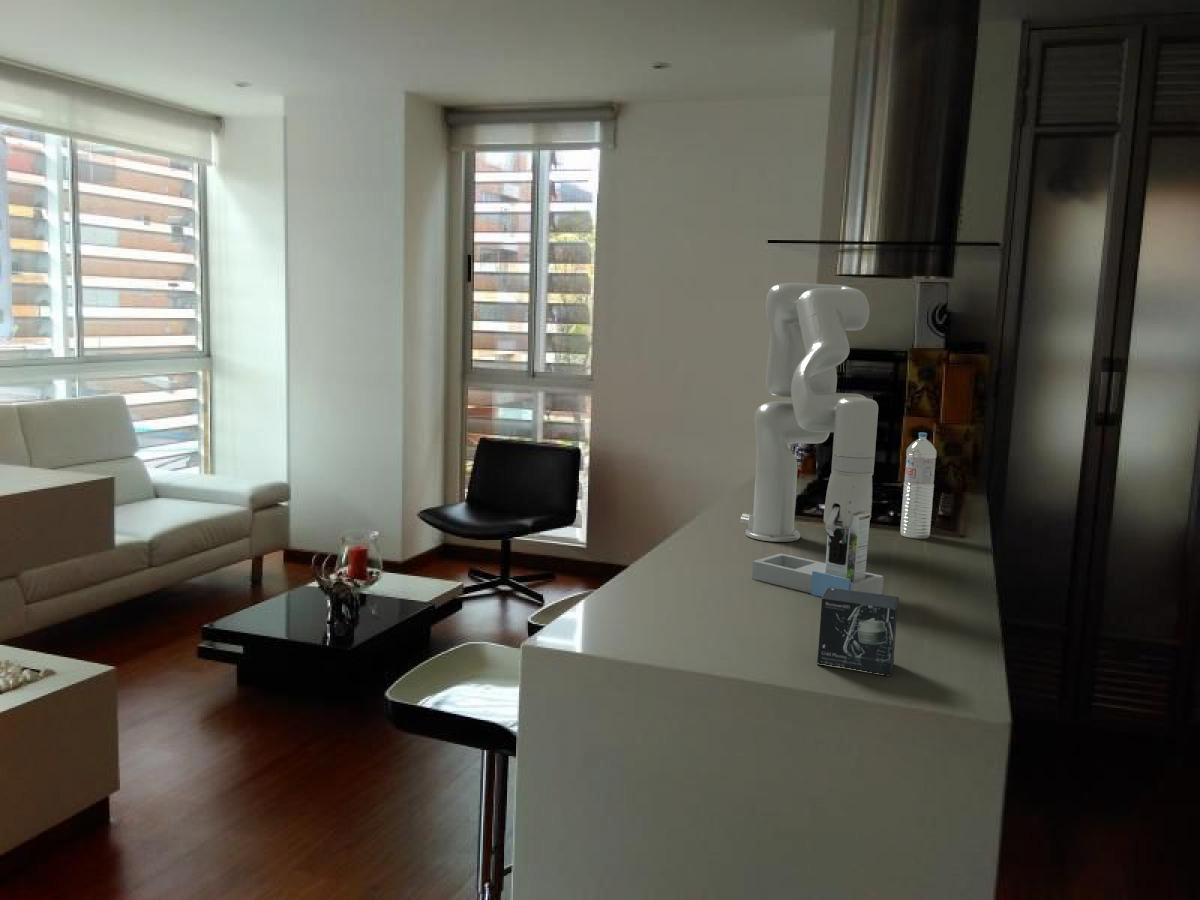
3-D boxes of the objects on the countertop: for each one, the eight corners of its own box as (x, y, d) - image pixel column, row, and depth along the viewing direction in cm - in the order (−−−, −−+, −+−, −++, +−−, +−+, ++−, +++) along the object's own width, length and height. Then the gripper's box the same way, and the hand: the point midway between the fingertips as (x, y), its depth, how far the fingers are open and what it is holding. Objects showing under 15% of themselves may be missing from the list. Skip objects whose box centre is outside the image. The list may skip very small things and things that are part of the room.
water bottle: (931, 540, 226) (940, 435, 223) (901, 538, 227) (909, 433, 224) (927, 534, 233) (936, 432, 229) (898, 532, 234) (906, 430, 231)
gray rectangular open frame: (750, 579, 187) (751, 557, 186) (779, 570, 194) (780, 548, 194) (854, 605, 172) (856, 581, 171) (882, 594, 179) (883, 571, 179)
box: (815, 666, 141) (820, 597, 139) (822, 652, 147) (826, 586, 145) (891, 678, 137) (896, 607, 135) (894, 663, 143) (899, 595, 141)
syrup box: (822, 585, 179) (827, 509, 177) (838, 579, 183) (843, 505, 181) (850, 592, 175) (856, 514, 173) (865, 586, 179) (871, 510, 177)
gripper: (856, 458, 185) (850, 549, 187) (810, 466, 172) (803, 564, 175) (893, 463, 180) (886, 557, 182) (848, 472, 167) (840, 572, 170)
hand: (845, 559), depth 178 cm, fingers closed on syrup box, 5 cm apart
